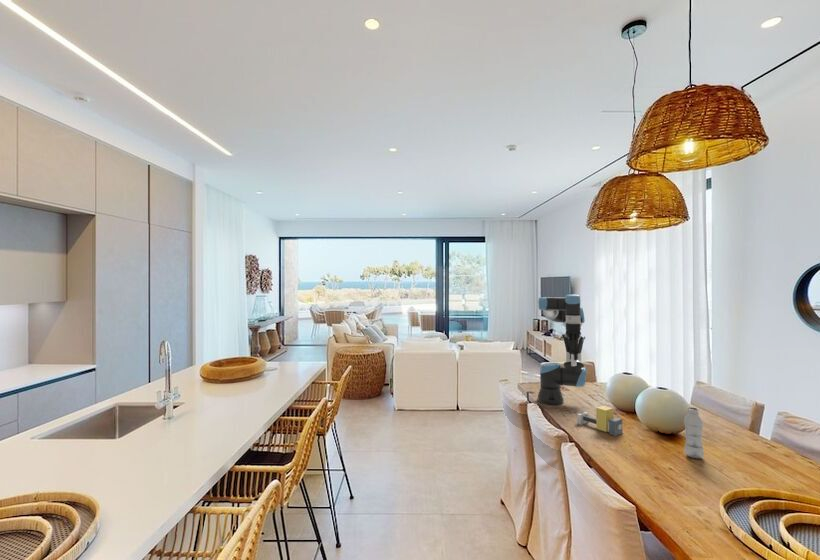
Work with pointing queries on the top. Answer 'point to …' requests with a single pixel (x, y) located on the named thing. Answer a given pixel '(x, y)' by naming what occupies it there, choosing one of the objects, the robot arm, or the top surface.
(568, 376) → the robot arm
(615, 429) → the grey slider rail
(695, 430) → the plastic bottle
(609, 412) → the yellow rectangular block
